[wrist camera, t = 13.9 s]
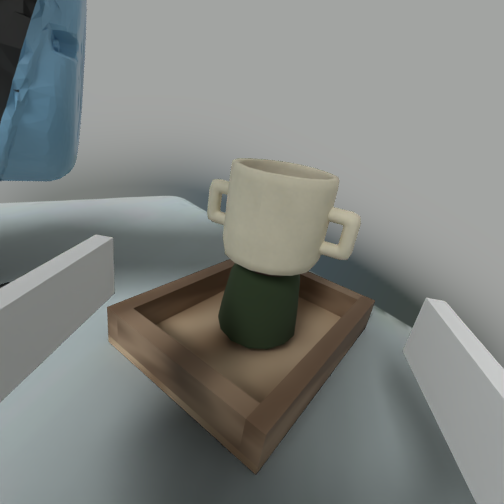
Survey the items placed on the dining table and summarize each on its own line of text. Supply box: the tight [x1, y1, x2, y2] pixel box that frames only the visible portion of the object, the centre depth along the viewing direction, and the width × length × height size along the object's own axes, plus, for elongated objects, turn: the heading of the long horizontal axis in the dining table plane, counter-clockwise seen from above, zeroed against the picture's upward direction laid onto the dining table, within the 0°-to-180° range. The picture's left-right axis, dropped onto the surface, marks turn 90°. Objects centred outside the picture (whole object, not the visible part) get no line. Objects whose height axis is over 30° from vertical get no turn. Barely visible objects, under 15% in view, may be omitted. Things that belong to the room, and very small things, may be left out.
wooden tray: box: [107, 259, 375, 475], centre depth 25 cm, size 13×17×3 cm
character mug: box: [207, 158, 361, 349], centre depth 23 cm, size 11×7×13 cm, turn 66°
